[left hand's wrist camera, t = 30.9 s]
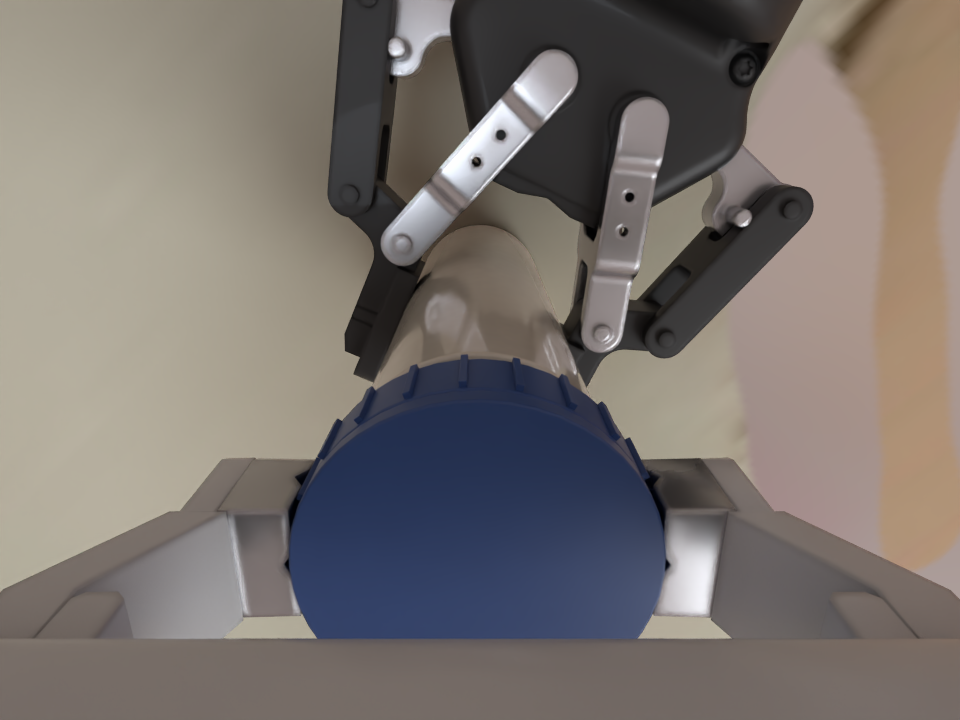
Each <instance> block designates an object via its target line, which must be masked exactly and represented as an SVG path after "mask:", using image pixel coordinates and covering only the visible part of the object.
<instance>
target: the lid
mask: <svg viewBox="0 0 960 720" xmlns="http://www.w3.org/2000/svg"><path fill="white" fill-rule="evenodd" d="M318 457H319V458H318ZM648 478H650V477H649V475H648V473H647V471H646V469H645V467H644V465H643V463H642V461H641V459H640V457H639V455H638V453H637V451H636V449H635V447H634V444H633V442H632V441H631V439H630V438H627V439H624V437H623V436H622V434H621V433H620V431H619V429H618V428H617V426H616V425H615V423H614V421H613V419H612V417H611V415H610V413H609V411H608V409H607V406H606V405H605V404H604V403H603V402H600V403H599V404H598V405H597V404H596V403H595V402H594V401H593V400H592V399H591V398H590V397H588V396H587V395H586V394H584V393H583V392H582V391H580V390H579V389H577V388H576V387H574V386H573V385H571V384H570V382H569V379H568V377H567V376H566V375H564V374H561V375H560V377H559V378H558V377H556V376H554V375H552V374H550V373H547V372H545V371H542V370H539V369H536V368H533V367H530V366H527V365H522V364H521V362H520V359H519V358H514V357H513V359H512V362H508V361H501V360H489V359H468V354H464V355H461V358H460V360H454V361H448V362H442V363H436V364H432V365H429V366H425V367H422V368H419V367H418V365H417V364H415V365H412V366H410V369H409V372H408V373H406V374H403V375H401V376H399V377H397V378H394V379H392V380H391V381H389V382H388V383H386V384H384V385H383V386H381V387H379V388H378V389H376V390H375V389H374V388H373V387H372V386H371V387H370V388H369V389H367V391H366V393H365V395H364V397H363V400H362V401H361V402H360V403H358V404H357V405H356V406H355V408H354V409H353V410H352V411H351V412H350V413H349V414H348V415H347V416H346V417H345V418H344V419H343V421H341V420H339V419H337V420H336V421H335V423H334V424H333V426H332V428H331V430H330V432H329V434H328V436H327V438H326V440H325V442H324V444H323V446H322V448H321V450H320V452H319V454H318V456H317V458H316V459H315V461H314V463H313V465H312V467H311V469H310V471H309V473H308V475H307V477H306V479H305V481H304V483H303V485H302V487H301V489H300V491H299V493H298V496H297V500H300V503H299V505H298V507H297V510H296V514H295V517H294V520H293V523H292V527H291V534H290V541H289V570H290V575H291V581H292V587H293V591H294V593H295V596H296V599H297V602H298V605H299V608H300V610H301V612H302V614H303V616H304V618H305V620H306V622H307V624H308V626H309V627H310V629H311V630H312V631H313V633H314V634H315V636H316V637H317V639H637V638H638V637H639V636H640V634H641V633H642V632H643V630H644V628H645V626H646V625H647V623H648V621H649V619H650V618H651V616H652V614H653V612H654V609H655V607H656V604H657V602H658V599H659V596H660V593H661V588H662V584H663V580H664V575H665V563H666V547H665V536H664V530H663V526H662V522H661V518H660V514H659V512H658V509H657V507H656V505H655V502H654V500H653V498H652V494H651V492H650V490H649V489H648V487H647V484H646V482H645V481H644V480H646V479H648Z"/></svg>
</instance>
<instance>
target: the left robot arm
mask: <svg viewBox="0 0 960 720" xmlns="http://www.w3.org/2000/svg"><path fill="white" fill-rule="evenodd" d="M314 461H315V459H262V458H258V459H256V458H228V459H222V460H221V461H220V462H219V463H218V465H217V466H216V467H215V468H214V469H213V471H212V472H211V473H210V474H209V476H208V477H207V478H206V479H205V481H204V482H203V483H202V484H201V486H200V487H199V488H198V489H197V491H196V492H195V493H194V494H193V496H192V497H191V498H190V499H189V501H188V502H187V503H186V504H185V505H184V507H183V508H182V509H181V510H180V511H174V512H168V513H166V514H163V515H161V516H159V517H157V518H155V519H153V520H151V521H148V522H146V523H144V524H142V525H140V526H138V527H136V528H133V529H131V530H129V531H127V532H125V533H123V534H121V535H118V536H116V537H114V538H112V539H110V540H108V541H106V542H104V543H101V544H99V545H97V546H95V547H93V548H91V549H89V550H86V551H84V552H82V553H80V554H78V555H76V556H74V557H71V558H69V559H67V560H65V561H63V562H61V563H59V564H57V565H54V566H52V567H50V568H48V569H46V570H44V571H42V572H39V573H37V574H35V575H33V576H31V577H29V578H27V579H24V580H22V581H20V582H18V583H16V584H14V585H12V586H10V587H7V588H5V589H3V590H2V591H1V592H0V720H960V599H959V598H958V597H957V596H956V595H955V594H954V593H953V592H952V591H951V590H949V589H947V588H945V587H943V586H941V585H938V584H936V583H934V582H932V581H930V580H928V579H926V578H924V577H922V576H919V575H917V574H915V573H913V572H911V571H909V570H907V569H905V568H903V567H900V566H898V565H896V564H894V563H892V562H890V561H888V560H886V559H884V558H881V557H879V556H877V555H875V554H873V553H871V552H869V551H867V550H865V549H862V548H860V547H858V546H856V545H854V544H852V543H850V542H848V541H846V540H843V539H841V538H839V537H837V536H835V535H833V534H831V533H829V532H827V531H824V530H822V529H820V528H818V527H816V526H814V525H812V524H810V523H808V522H805V521H803V520H801V519H799V518H797V517H795V516H793V515H791V514H789V513H786V512H778V511H774V510H773V509H772V508H771V507H770V505H769V504H768V503H767V501H766V500H765V499H764V498H763V496H762V495H761V494H760V493H759V491H758V490H757V489H756V488H755V486H754V485H753V484H752V483H751V481H750V480H749V479H748V478H747V476H746V475H745V474H744V473H743V471H742V470H741V469H740V467H739V466H738V465H737V464H736V462H735V461H734V460H732V459H730V458H708V459H701V458H692V459H650V460H641V461H642V463H643V465H644V467H645V469H646V471H647V473H648V475H649V477H650V478H648V479H646V480H644V481H645V482H646V484H647V487H648V489H649V490H650V492H651V494H652V498H653V500H654V502H655V505H656V507H657V509H658V512H659V514H660V518H661V522H662V526H663V530H664V536H665V547H666V563H665V575H664V580H663V584H662V588H661V593H660V596H659V599H658V602H657V604H656V607H655V609H654V612H653V614H654V616H681V617H711V620H712V621H713V622H714V623H715V624H716V625H718V626H719V627H720V628H721V629H722V630H723V631H724V632H726V633H727V634H728V635H729V636H730V637H731V638H732V639H222V638H223V637H225V636H226V635H227V634H228V633H229V632H230V631H231V630H233V629H234V628H235V627H236V626H237V625H238V624H240V623H241V622H242V621H243V617H272V616H301V613H302V612H301V610H300V608H299V605H298V602H297V599H296V596H295V593H294V591H293V587H292V581H291V575H290V570H289V541H290V534H291V527H292V523H293V520H294V517H295V514H296V510H297V507H298V505H299V503H300V500H297V496H298V493H299V491H300V489H301V487H302V485H303V483H304V481H305V479H306V477H307V475H308V473H309V471H310V469H311V467H312V465H313V463H314Z"/></svg>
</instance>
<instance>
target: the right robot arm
mask: <svg viewBox="0 0 960 720" xmlns="http://www.w3.org/2000/svg"><path fill="white" fill-rule="evenodd" d="M802 1H803V0H343V5H342V18H341V30H340V43H339V55H338V68H337V80H336V93H335V105H334V118H333V130H332V143H331V155H330V168H329V180H328V199H329V202H330V204H331V206H332V207H333V209H334V210H335V211H336V212H337V213H339V214H340V215H343V216H345V217H349V218H350V219H351V220H352V221H353V222H354V223H355V224H356V225H357V226H358V227H360V228H361V229H362V230H363V231H364V232H365V233H366V234H367V235H368V237H369V238H370V240H371V242H372V244H373V247H374V260H373V264H372V266H371V269H370V271H369V274H368V276H367V279H366V281H365V284H364V286H363V289H362V291H361V294H360V296H359V299H358V302H357V304H356V307H355V309H354V312H353V314H352V317H351V319H350V322H349V324H348V327H347V329H346V332H345V351H346V352H349V353H351V354H353V355H356V356H358V357H360V359H359V361H358V364H357V366H356V368H355V371H354V375H357V376H359V377H361V378H364V379H366V380H369V381H371V382H374V380H375V378H376V375H377V373H378V371H379V368H380V366H381V364H382V362H383V359H384V357H385V355H386V352H387V350H388V348H389V346H390V343H391V341H392V339H393V336H394V334H395V332H396V330H397V327H398V325H399V323H400V320H401V318H402V316H403V313H404V311H405V309H406V307H407V304H408V302H409V301H410V298H411V296H412V294H413V291H414V289H415V287H416V284H417V282H418V280H419V277H420V275H421V273H422V270H423V268H424V266H425V262H423V261H421V258H422V255H423V254H424V253H425V252H426V251H427V250H428V248H429V247H430V246H431V245H432V244H433V243H434V242H435V241H436V240H437V239H438V237H439V236H440V235H441V234H442V233H443V232H444V231H445V230H446V229H447V228H448V227H449V225H450V224H451V223H452V222H453V221H454V220H455V219H456V218H457V217H458V216H459V215H460V214H461V213H462V212H463V211H464V210H465V209H466V208H467V207H468V206H469V205H470V204H471V203H472V202H473V201H474V200H475V198H476V197H477V196H478V195H479V194H480V193H481V192H482V191H483V190H484V189H485V188H486V186H487V185H488V184H489V183H490V182H491V181H492V180H493V181H494V182H496V183H498V184H500V185H502V186H505V187H507V188H509V189H511V190H513V191H515V192H517V193H522V194H527V195H533V196H539V197H545V198H548V199H549V200H550V201H552V202H553V203H554V204H555V205H556V206H557V207H559V208H560V209H561V210H562V211H563V212H564V213H565V214H567V215H568V216H569V217H570V218H572V219H574V220H577V221H579V222H581V224H580V231H579V238H578V248H577V253H578V262H577V269H576V276H575V283H574V289H573V296H572V303H571V309H570V314H569V316H568V318H567V320H566V321H565V323H564V325H563V324H561V323H560V326H561V328H562V331H563V333H564V335H565V338H566V340H567V343H568V345H569V347H570V350H571V352H572V355H573V357H574V360H575V362H576V364H577V367H578V369H579V372H580V374H581V376H582V379H583V381H584V384H585V386H586V387H587V386H588V384H589V382H590V380H591V378H592V376H593V375H594V373H595V371H596V369H597V367H598V366H599V364H600V362H601V361H602V360H603V358H604V357H606V356H607V355H608V354H610V353H612V352H614V351H617V350H622V349H627V350H641V351H649V352H650V353H651V354H652V355H654V356H656V357H658V358H670V357H673V356H675V355H677V354H678V353H679V352H680V351H681V350H682V349H683V348H684V347H685V346H686V345H687V344H688V343H689V342H690V341H691V340H692V339H693V338H694V337H695V336H696V335H697V334H698V333H699V332H700V331H701V330H702V329H703V328H704V327H705V326H706V325H707V324H708V323H709V322H710V321H711V320H712V319H713V318H714V317H715V316H716V315H717V314H718V313H719V312H720V311H721V310H722V309H723V308H724V307H725V306H726V305H727V303H728V302H729V301H730V300H731V299H732V298H733V297H734V296H735V295H736V294H737V293H738V292H739V291H740V290H741V289H742V288H743V287H744V286H745V285H746V284H747V283H748V282H749V281H750V280H751V279H752V278H753V277H754V276H755V275H756V274H757V273H758V272H759V271H760V270H761V269H762V268H763V267H764V266H765V265H766V264H767V263H768V262H769V261H770V260H771V259H772V258H773V257H774V256H775V255H776V254H777V253H778V252H779V251H780V249H781V248H782V247H783V246H784V245H785V244H786V243H787V242H788V241H789V240H790V239H791V238H792V237H793V236H794V235H795V234H796V233H797V232H798V231H799V230H800V229H801V228H802V227H803V226H804V225H805V224H806V223H807V222H808V220H809V219H810V217H811V215H812V212H813V199H812V197H811V195H810V194H809V193H808V192H807V191H806V190H805V189H803V188H800V187H795V186H791V185H788V184H783V183H781V182H780V181H779V180H778V179H777V178H776V177H775V176H774V175H773V174H772V173H771V172H770V171H769V170H768V169H767V168H766V167H764V166H763V165H762V164H761V163H760V162H759V161H758V160H757V159H756V158H755V157H754V156H753V155H752V154H751V153H750V152H749V151H748V150H747V149H746V148H745V147H744V146H743V145H742V144H743V141H744V138H745V134H746V125H747V110H748V104H749V99H750V96H751V93H752V90H753V87H754V85H755V83H756V81H757V79H758V78H759V76H760V74H761V73H762V71H763V70H764V68H765V66H766V65H767V63H768V61H769V60H770V58H771V57H772V55H773V53H774V52H775V50H776V48H777V46H778V44H779V42H780V41H781V39H782V37H783V35H784V33H785V31H786V30H787V28H788V26H789V24H790V22H791V21H792V19H793V17H794V15H795V13H796V12H797V10H798V8H799V6H800V4H801V3H802ZM443 41H451V42H452V46H453V51H454V56H455V61H456V66H457V71H458V76H459V81H460V86H461V91H462V96H463V101H464V107H465V112H466V117H467V122H468V127H469V132H470V134H469V135H468V136H467V137H466V138H465V139H464V140H463V142H462V143H461V144H460V145H459V146H458V147H457V148H456V150H455V151H454V152H453V153H452V154H451V155H450V156H449V158H448V159H447V160H446V161H445V162H444V163H443V164H442V166H441V167H440V168H439V169H438V170H437V171H436V172H435V174H434V175H433V176H432V177H431V178H430V179H429V181H428V182H427V183H426V184H425V185H424V186H423V188H422V189H421V190H420V191H419V192H418V193H417V194H416V196H415V197H414V198H413V199H412V200H411V201H410V202H409V204H406V203H405V202H404V201H403V200H402V199H401V198H400V197H399V196H398V195H397V194H396V193H395V192H394V191H393V190H392V189H391V188H390V187H389V186H388V185H387V184H386V178H387V169H388V160H389V151H390V142H391V133H392V124H393V115H394V106H395V97H396V88H397V79H398V78H399V79H410V78H412V77H415V76H416V75H417V74H418V73H419V72H420V71H421V70H422V68H423V66H424V63H425V60H426V56H427V54H428V52H429V51H430V49H431V48H432V47H433V46H435V45H436V44H438V43H440V42H443ZM474 157H476V158H477V160H478V162H476V161H474V159H473V158H474ZM709 175H711V177H712V181H713V187H712V191H711V194H710V196H709V198H708V199H707V201H706V202H705V204H704V206H703V209H702V220H703V222H704V224H705V227H704V228H703V230H702V231H701V232H700V233H699V234H698V235H697V236H696V237H695V238H694V239H693V240H692V241H691V242H690V244H689V245H688V246H687V247H686V248H685V249H684V250H683V251H682V252H681V253H680V254H679V255H678V256H677V258H676V259H675V260H674V261H673V262H672V263H671V264H670V265H669V266H668V267H667V268H666V269H665V270H664V272H663V273H662V274H661V275H660V276H659V277H658V278H657V279H656V280H655V281H654V282H653V283H652V284H651V286H650V287H649V288H648V289H647V290H646V291H645V292H644V293H643V294H642V295H641V296H640V297H639V298H638V300H629V297H630V292H631V286H632V282H633V279H634V277H635V276H636V275H637V273H638V271H639V268H640V264H641V258H642V253H643V248H644V242H645V237H646V231H647V226H648V221H649V215H650V210H651V208H652V207H653V206H655V205H657V204H659V203H661V202H662V201H664V200H666V199H668V198H670V197H671V196H673V195H675V194H677V193H679V192H680V191H682V190H684V189H686V188H688V187H689V186H691V185H693V184H695V183H697V182H698V181H700V180H702V179H704V178H706V177H707V176H709ZM622 227H624V232H623V233H622Z"/></svg>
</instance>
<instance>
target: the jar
mask: <svg viewBox="0 0 960 720" xmlns="http://www.w3.org/2000/svg"><path fill="white" fill-rule="evenodd" d="M464 354H468V359H489V360H501V361H508V362H512V359H513V357H514V358H519V359H520V362H521V364H522V365H527V366H530V367H533V368H536V369H539V370H542V371H545V372H547V373H550V374H552V375H554V376H556V377H558V378H559V377H560V375H561V374H564V375H566V376H567V377H568V379H569V382H570V384H571V385H573V386H574V387H576V388H577V389H579V390H580V391H582V392H583V393H584V394H586V395H587V396H588V397H590V396H589V393H588V391H587V388H586V386H585V384H584V381H583V379H582V376H581V374H580V372H579V369H578V367H577V364H576V362H575V360H574V357H573V355H572V352H571V350H570V347H569V345H568V343H567V340H566V338H565V335H564V333H563V331H562V328H561V326H560V323H559V321H558V319H557V316H556V314H555V311H554V309H553V307H552V304H551V302H550V299H549V297H548V295H547V292H546V290H545V287H544V285H543V283H542V280H541V278H540V275H539V273H538V271H537V268H536V266H535V263H534V261H533V259H532V257H531V255H530V253H529V251H528V250H527V248H526V247H525V246H524V245H523V244H522V242H521V241H519V240H518V239H517V238H516V237H515V236H513V235H512V234H510V233H509V232H507V231H505V230H502V229H500V228H497V227H493V226H488V225H472V226H467V227H463V228H460V229H457V230H455V231H453V232H451V233H450V234H448V235H447V236H445V237H444V238H443V239H442V240H440V241H439V242H438V243H437V245H436V246H435V247H434V248H433V250H432V251H431V253H430V254H429V256H428V259H427V261H426V263H425V266H424V268H423V270H422V273H421V275H420V277H419V280H418V282H417V284H416V287H415V289H414V291H413V294H412V296H411V298H410V301H409V302H408V304H407V307H406V309H405V311H404V313H403V316H402V318H401V320H400V323H399V325H398V327H397V330H396V332H395V334H394V336H393V339H392V341H391V343H390V346H389V348H388V350H387V352H386V355H385V357H384V359H383V362H382V364H381V366H380V368H379V371H378V373H377V375H376V378H375V380H374V382H373V384H372V387H373V388H374V389H375V390H376V389H378V388H379V387H381V386H383V385H384V384H386V383H388V382H389V381H391V380H392V379H394V378H397V377H399V376H401V375H403V374H406V373H408V372H409V369H410V366H412V365H415V364H417V365H418V367H419V368H422V367H425V366H429V365H432V364H436V363H442V362H448V361H454V360H460V358H461V355H464Z"/></svg>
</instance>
